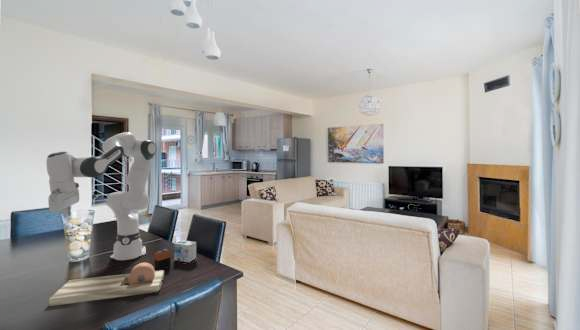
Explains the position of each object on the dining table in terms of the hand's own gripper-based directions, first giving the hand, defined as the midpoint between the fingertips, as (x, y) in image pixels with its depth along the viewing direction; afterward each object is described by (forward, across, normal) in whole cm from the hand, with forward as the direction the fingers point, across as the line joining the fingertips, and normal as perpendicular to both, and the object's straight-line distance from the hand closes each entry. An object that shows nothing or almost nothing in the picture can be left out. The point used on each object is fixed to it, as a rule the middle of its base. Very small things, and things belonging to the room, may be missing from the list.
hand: (67, 216), depth 125 cm
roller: (+29, -13, -31) cm, 45 cm away
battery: (+36, +6, -37) cm, 52 cm away
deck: (+33, -13, -19) cm, 40 cm away
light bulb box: (+38, +14, -47) cm, 62 cm away
